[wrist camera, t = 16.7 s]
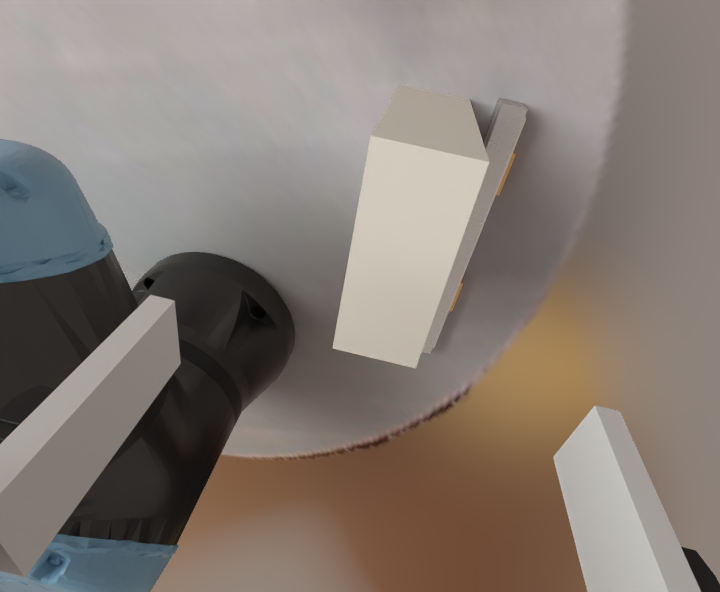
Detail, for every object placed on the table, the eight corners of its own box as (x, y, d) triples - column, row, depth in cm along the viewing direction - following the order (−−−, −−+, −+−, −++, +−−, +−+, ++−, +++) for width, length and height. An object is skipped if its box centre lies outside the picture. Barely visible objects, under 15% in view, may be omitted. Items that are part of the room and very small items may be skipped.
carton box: (367, 237, 32) (332, 348, 22) (399, 84, 26) (370, 135, 15) (425, 251, 32) (418, 369, 22) (472, 99, 26) (493, 162, 15)
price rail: (435, 342, 37) (435, 355, 36) (414, 336, 37) (413, 350, 36) (530, 105, 25) (535, 111, 24) (499, 98, 26) (502, 103, 24)
